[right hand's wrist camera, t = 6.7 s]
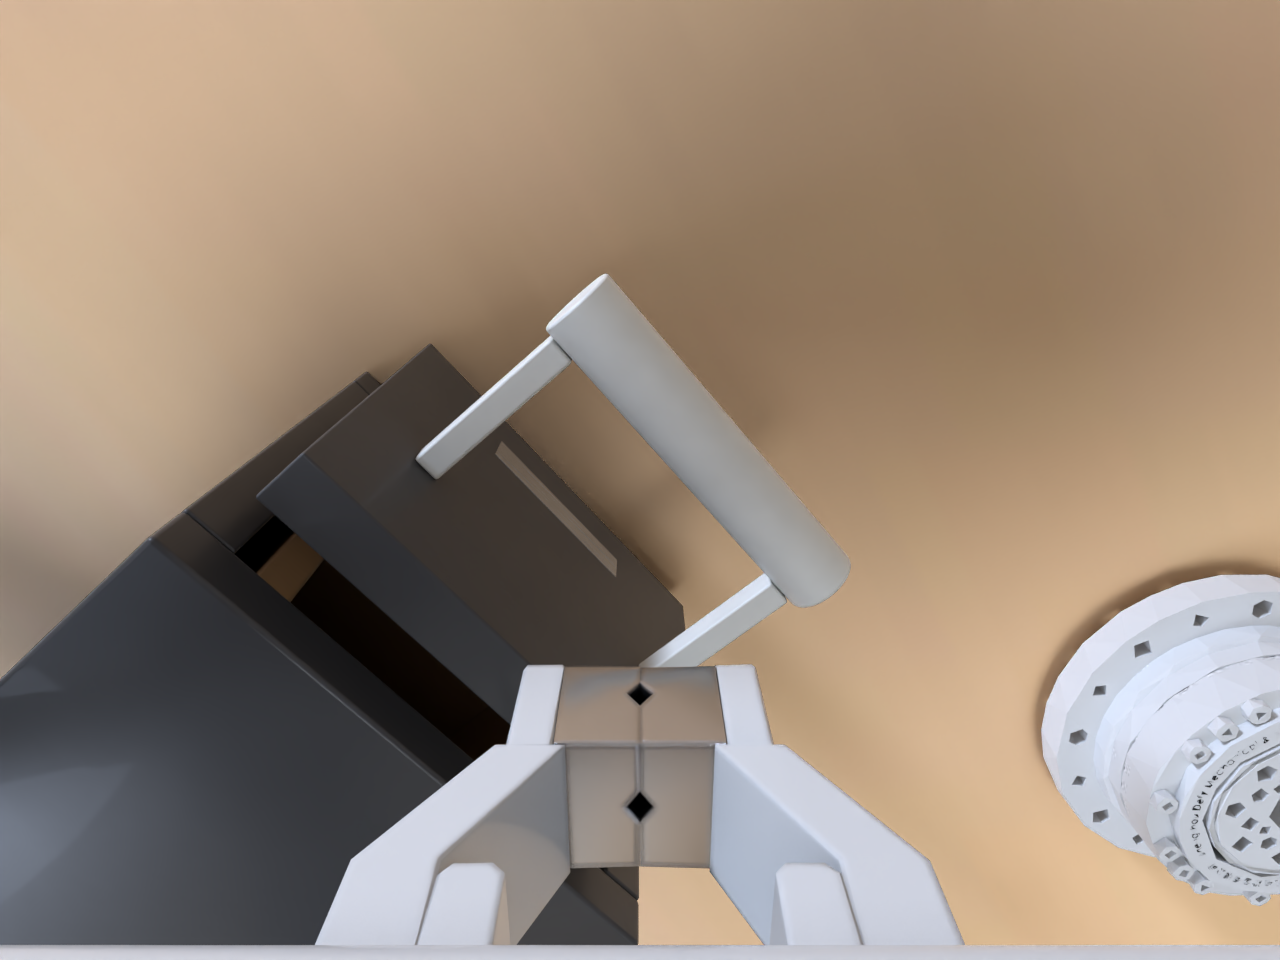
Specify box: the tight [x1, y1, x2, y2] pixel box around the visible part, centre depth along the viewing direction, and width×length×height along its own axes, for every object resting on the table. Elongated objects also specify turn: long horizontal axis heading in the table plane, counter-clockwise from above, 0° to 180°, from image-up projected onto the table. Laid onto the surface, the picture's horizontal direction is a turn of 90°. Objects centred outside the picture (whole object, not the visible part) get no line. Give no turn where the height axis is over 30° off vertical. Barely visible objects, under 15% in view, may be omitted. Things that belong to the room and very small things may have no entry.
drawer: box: [245, 274, 851, 761], centre depth 19 cm, size 19×10×8 cm, turn 131°
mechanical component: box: [1041, 575, 1280, 906], centre depth 24 cm, size 10×4×10 cm
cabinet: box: [0, 372, 639, 945], centre depth 20 cm, size 16×11×10 cm
